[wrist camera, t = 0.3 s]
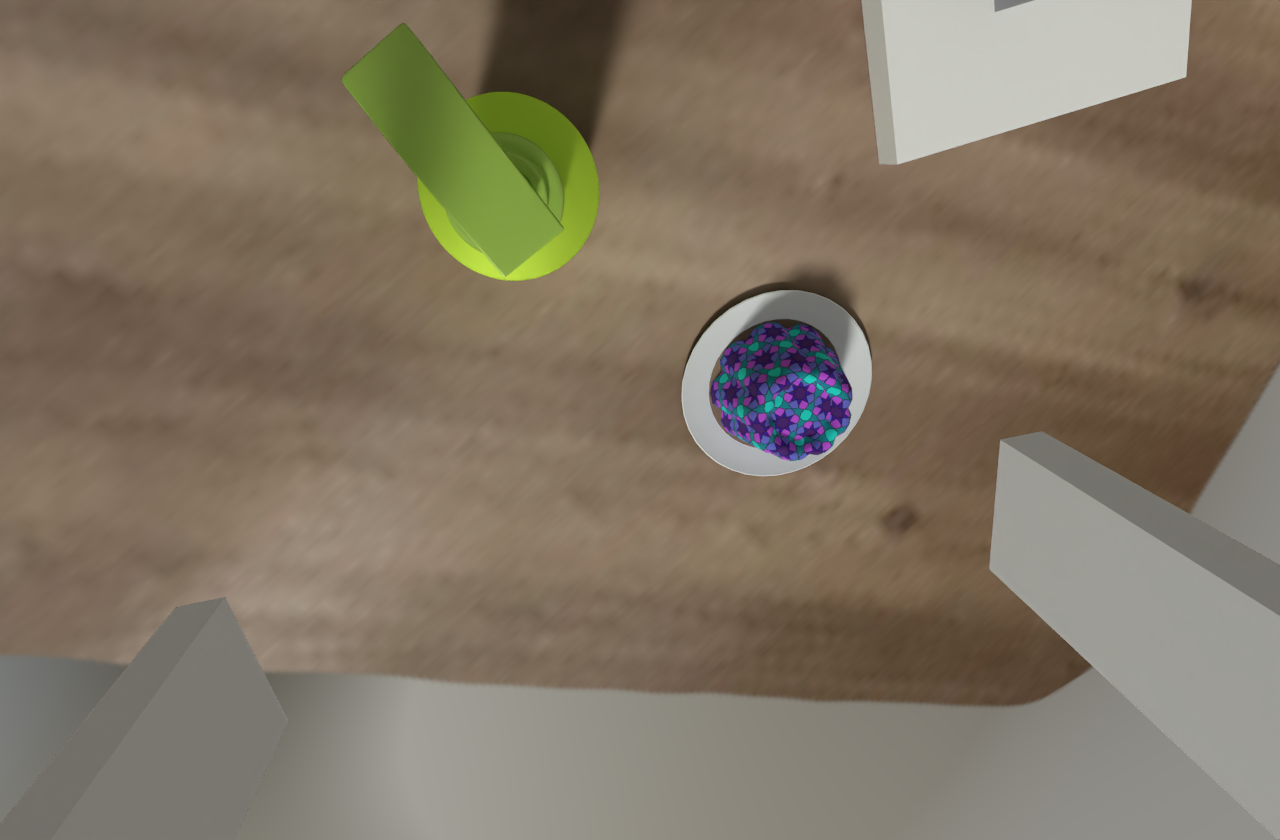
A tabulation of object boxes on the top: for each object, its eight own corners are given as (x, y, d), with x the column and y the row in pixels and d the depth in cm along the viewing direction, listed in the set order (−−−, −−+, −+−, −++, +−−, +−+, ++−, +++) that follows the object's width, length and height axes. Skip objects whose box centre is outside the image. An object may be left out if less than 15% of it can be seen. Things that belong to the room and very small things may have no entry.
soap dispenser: (515, 69, 31) (473, -52, 13) (602, 189, 34) (670, 231, 16) (424, 147, 32) (262, 138, 14) (517, 259, 35) (484, 377, 16)
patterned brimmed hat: (902, 337, 40) (951, 362, 35) (803, 495, 43) (835, 537, 38) (739, 252, 36) (768, 267, 32) (645, 431, 40) (659, 469, 35)
